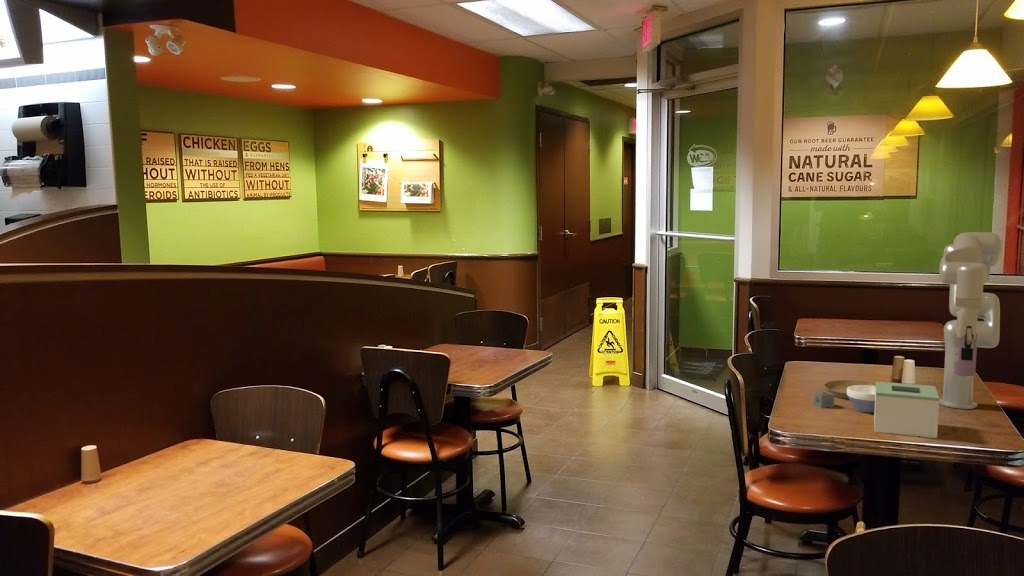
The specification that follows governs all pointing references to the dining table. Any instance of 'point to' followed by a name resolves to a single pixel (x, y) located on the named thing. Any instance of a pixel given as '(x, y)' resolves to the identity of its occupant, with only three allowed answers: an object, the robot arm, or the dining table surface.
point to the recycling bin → (906, 409)
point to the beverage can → (964, 366)
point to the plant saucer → (843, 387)
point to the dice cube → (823, 399)
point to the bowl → (862, 397)
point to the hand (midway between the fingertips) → (965, 357)
